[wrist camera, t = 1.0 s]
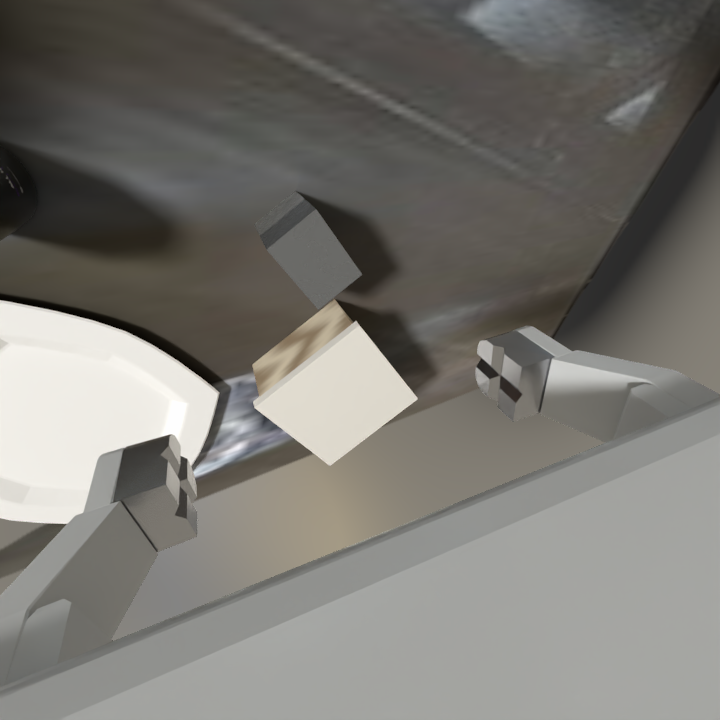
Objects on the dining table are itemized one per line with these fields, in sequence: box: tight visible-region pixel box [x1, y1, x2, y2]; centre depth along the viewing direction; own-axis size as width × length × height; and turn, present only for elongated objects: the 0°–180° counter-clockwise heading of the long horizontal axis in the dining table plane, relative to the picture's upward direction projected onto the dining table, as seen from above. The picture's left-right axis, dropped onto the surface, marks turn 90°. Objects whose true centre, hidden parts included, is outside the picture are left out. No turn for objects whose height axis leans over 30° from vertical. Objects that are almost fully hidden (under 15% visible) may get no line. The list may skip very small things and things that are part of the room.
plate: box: [0, 300, 220, 524], centre depth 41 cm, size 27×27×2 cm
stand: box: [252, 299, 418, 465], centre depth 45 cm, size 13×13×8 cm
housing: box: [254, 191, 362, 310], centre depth 36 cm, size 5×7×8 cm
